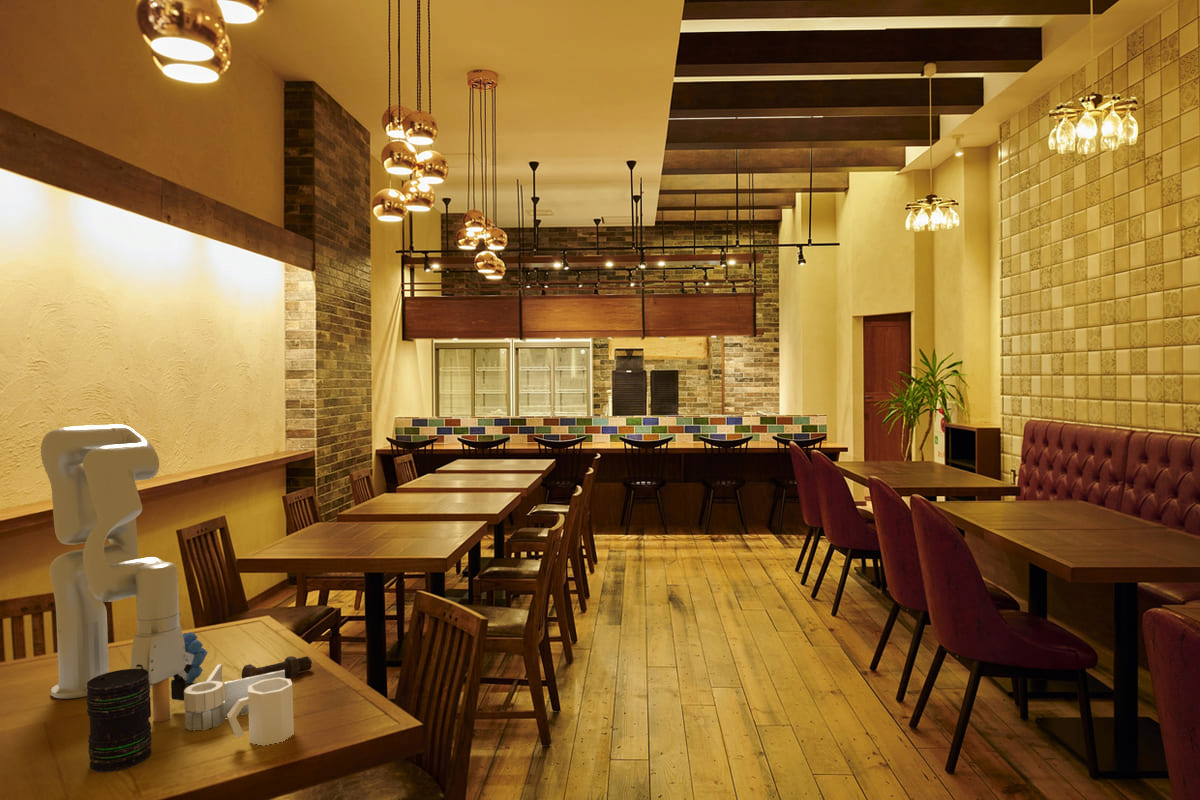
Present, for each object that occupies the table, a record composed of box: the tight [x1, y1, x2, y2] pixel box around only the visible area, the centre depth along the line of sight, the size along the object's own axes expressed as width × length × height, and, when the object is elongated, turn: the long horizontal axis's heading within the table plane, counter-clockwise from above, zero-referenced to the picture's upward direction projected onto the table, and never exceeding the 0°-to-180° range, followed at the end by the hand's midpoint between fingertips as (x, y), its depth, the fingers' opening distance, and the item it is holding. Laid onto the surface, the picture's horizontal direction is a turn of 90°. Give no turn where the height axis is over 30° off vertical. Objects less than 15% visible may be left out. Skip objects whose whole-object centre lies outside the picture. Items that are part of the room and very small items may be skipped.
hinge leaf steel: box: [184, 670, 286, 732], centre depth 161 cm, size 7×19×7 cm, turn 124°
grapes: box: [183, 631, 209, 685], centre depth 181 cm, size 12×7×12 cm, turn 52°
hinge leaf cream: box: [183, 663, 225, 712], centre depth 163 cm, size 17×7×7 cm, turn 14°
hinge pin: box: [151, 678, 171, 723], centre depth 161 cm, size 3×3×9 cm
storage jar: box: [86, 668, 153, 773], centre depth 143 cm, size 10×10×15 cm
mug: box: [227, 677, 295, 747], centre depth 150 cm, size 12×9×10 cm
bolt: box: [241, 655, 313, 679], centre depth 182 cm, size 6×5×15 cm
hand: (161, 707), depth 161 cm, fingers open, 8 cm apart
